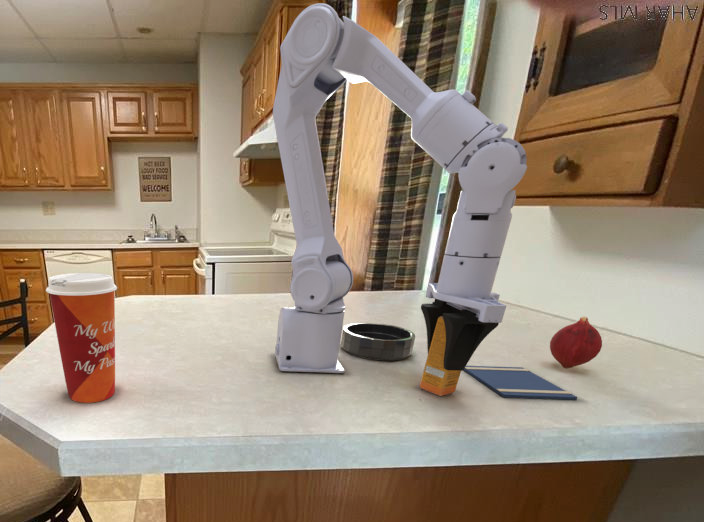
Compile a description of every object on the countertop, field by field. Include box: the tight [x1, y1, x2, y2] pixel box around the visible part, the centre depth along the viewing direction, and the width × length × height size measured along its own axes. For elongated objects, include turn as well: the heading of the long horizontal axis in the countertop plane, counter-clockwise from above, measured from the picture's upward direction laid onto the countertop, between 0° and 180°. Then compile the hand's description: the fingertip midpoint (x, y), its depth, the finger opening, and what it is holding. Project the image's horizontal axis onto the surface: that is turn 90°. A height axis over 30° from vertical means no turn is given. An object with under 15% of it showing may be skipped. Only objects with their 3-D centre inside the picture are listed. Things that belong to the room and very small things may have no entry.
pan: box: [340, 322, 416, 362], centre depth 72 cm, size 11×11×4 cm
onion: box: [549, 316, 603, 369], centre depth 64 cm, size 6×6×8 cm
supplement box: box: [419, 316, 462, 397], centre depth 55 cm, size 3×3×10 cm
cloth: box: [463, 365, 578, 401], centre depth 60 cm, size 9×11×1 cm
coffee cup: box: [45, 272, 118, 404], centre depth 53 cm, size 8×8×15 cm
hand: (444, 363), depth 55 cm, fingers closed on supplement box, 4 cm apart
